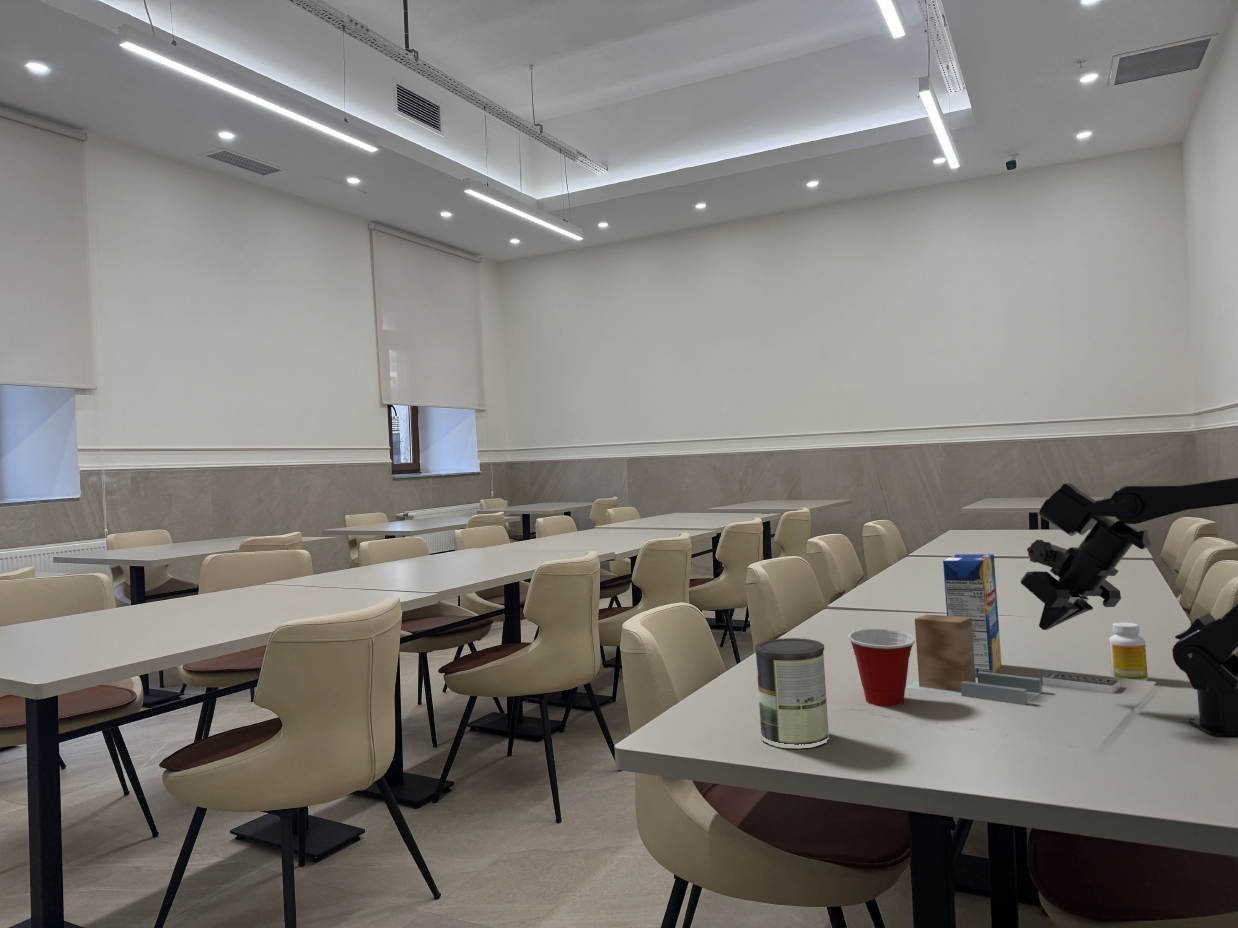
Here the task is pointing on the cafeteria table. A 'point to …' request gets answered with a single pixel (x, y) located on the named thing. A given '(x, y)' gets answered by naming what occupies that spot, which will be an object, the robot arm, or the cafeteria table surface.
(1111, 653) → the supplement bottle
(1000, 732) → the cafeteria table surface
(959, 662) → the block
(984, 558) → the beverage box
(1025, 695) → the chute
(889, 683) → the plastic cup
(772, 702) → the coffee can
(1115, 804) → the cafeteria table surface
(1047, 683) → the multiport hub
